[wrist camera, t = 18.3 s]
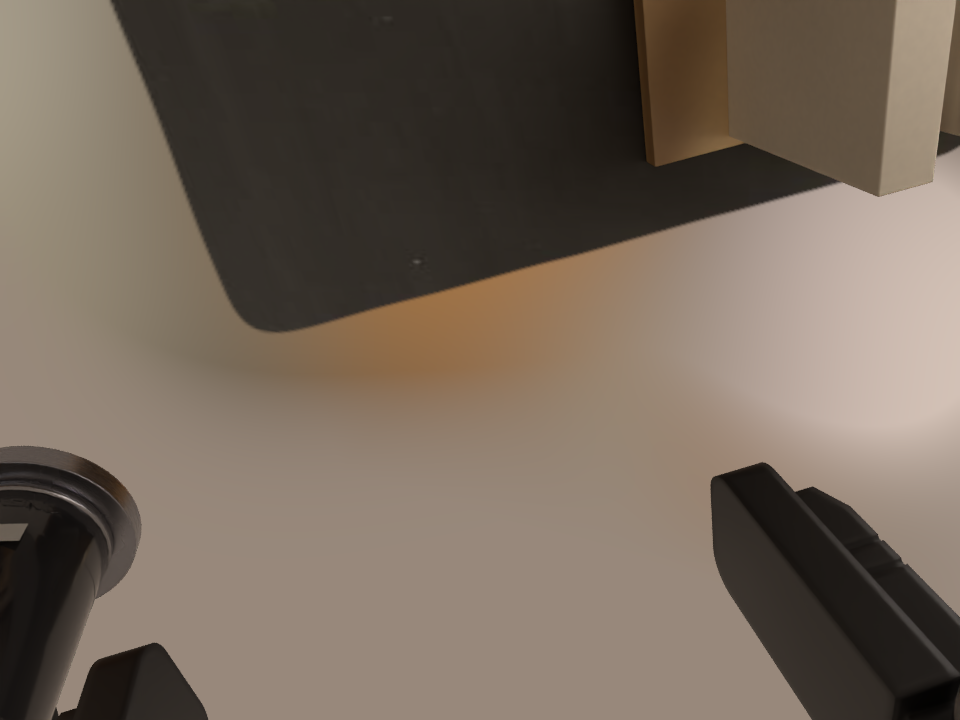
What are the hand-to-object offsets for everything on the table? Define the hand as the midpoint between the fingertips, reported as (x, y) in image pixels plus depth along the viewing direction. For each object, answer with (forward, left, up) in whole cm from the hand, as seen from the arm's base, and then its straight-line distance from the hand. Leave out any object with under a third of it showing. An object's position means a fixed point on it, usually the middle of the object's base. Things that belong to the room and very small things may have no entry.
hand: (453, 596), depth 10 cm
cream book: (+10, -18, -29) cm, 35 cm away
